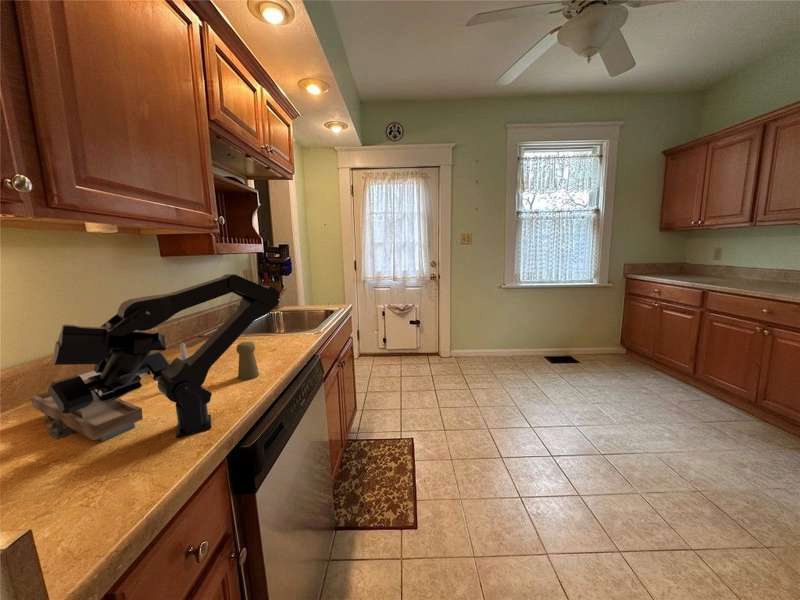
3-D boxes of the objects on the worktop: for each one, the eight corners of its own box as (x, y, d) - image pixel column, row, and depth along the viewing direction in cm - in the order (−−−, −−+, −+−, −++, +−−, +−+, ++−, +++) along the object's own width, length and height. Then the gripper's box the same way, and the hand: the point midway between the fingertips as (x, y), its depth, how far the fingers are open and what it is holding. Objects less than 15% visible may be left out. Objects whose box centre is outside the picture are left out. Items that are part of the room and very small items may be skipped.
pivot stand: (152, 419, 75) (150, 407, 75) (80, 451, 64) (77, 437, 63) (95, 401, 85) (93, 390, 85) (24, 426, 73) (21, 414, 73)
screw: (199, 385, 94) (179, 390, 91) (196, 380, 98) (177, 385, 94) (193, 342, 92) (173, 346, 89) (190, 339, 95) (171, 342, 92)
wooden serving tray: (142, 419, 73) (141, 408, 72) (94, 440, 65) (92, 428, 64) (81, 391, 83) (80, 381, 82) (32, 407, 75) (30, 396, 74)
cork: (253, 380, 97) (250, 345, 95) (234, 380, 97) (230, 345, 95) (262, 372, 103) (259, 339, 101) (244, 372, 103) (240, 339, 101)
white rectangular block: (116, 407, 74) (112, 375, 73) (82, 420, 69) (77, 386, 67) (101, 401, 76) (97, 369, 75) (68, 413, 71) (63, 379, 69)
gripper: (156, 317, 73) (134, 358, 79) (41, 340, 56) (25, 390, 62) (184, 354, 71) (160, 393, 77) (74, 389, 54) (54, 435, 60)
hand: (106, 400), depth 69 cm, fingers closed
